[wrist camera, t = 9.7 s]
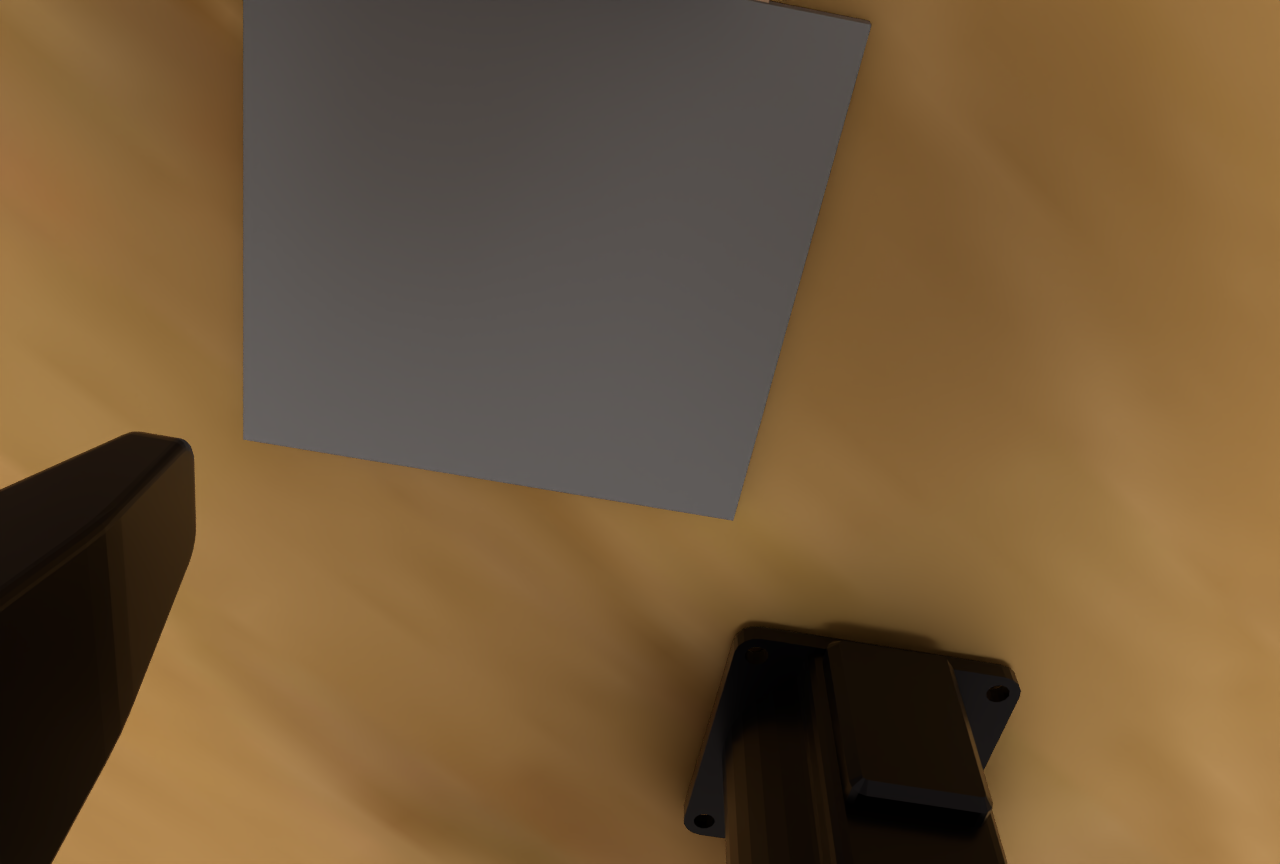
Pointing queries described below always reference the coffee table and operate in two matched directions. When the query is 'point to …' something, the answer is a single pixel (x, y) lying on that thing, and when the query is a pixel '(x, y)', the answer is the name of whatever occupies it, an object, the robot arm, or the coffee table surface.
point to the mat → (533, 232)
